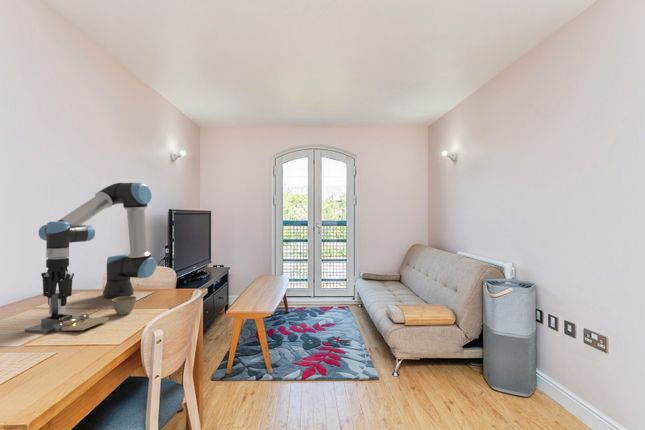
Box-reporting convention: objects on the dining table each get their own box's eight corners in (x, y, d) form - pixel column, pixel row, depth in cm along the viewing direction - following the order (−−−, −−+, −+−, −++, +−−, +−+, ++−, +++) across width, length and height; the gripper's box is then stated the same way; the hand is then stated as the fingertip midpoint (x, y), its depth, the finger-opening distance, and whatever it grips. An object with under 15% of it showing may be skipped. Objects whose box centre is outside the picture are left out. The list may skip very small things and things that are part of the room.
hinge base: (66, 317, 146) (66, 309, 146) (92, 319, 144) (92, 311, 144) (24, 331, 128) (24, 323, 128) (53, 334, 127) (54, 325, 127)
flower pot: (140, 310, 158) (141, 296, 158) (126, 317, 148) (126, 301, 148) (121, 309, 159) (122, 295, 159) (106, 316, 149) (106, 300, 149)
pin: (56, 315, 138) (57, 292, 138) (64, 316, 138) (65, 292, 138) (49, 318, 135) (49, 294, 135) (57, 318, 135) (57, 294, 135)
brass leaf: (82, 320, 142) (81, 314, 142) (108, 319, 141) (108, 313, 141) (53, 331, 129) (53, 324, 129) (83, 330, 128) (82, 323, 128)
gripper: (31, 258, 134) (31, 314, 134) (67, 259, 132) (66, 317, 132) (49, 256, 141) (48, 309, 141) (83, 257, 139) (82, 311, 139)
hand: (57, 313), depth 137 cm, fingers closed on pin, 3 cm apart
